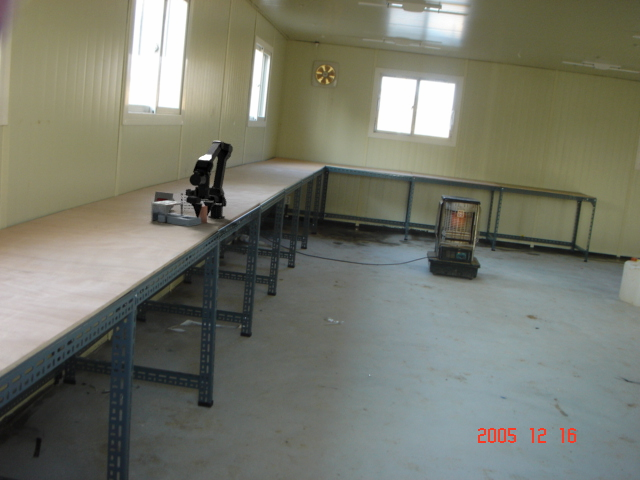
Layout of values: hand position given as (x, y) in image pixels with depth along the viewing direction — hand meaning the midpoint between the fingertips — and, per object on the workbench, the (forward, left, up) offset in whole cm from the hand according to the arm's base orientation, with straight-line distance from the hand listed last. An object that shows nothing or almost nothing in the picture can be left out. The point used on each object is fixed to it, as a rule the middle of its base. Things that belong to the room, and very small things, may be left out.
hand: (201, 216), depth 287 cm
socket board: (+8, -7, -3) cm, 11 cm away
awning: (+8, -15, -3) cm, 17 cm away
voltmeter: (-19, -30, -3) cm, 36 cm away
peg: (-1, 0, -3) cm, 3 cm away
